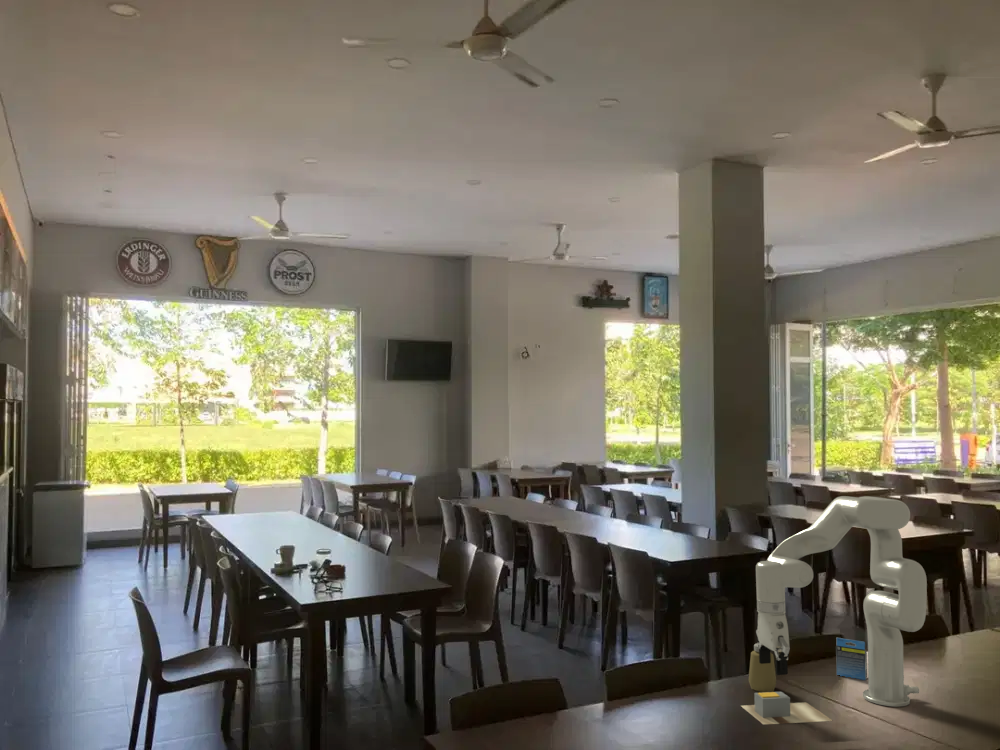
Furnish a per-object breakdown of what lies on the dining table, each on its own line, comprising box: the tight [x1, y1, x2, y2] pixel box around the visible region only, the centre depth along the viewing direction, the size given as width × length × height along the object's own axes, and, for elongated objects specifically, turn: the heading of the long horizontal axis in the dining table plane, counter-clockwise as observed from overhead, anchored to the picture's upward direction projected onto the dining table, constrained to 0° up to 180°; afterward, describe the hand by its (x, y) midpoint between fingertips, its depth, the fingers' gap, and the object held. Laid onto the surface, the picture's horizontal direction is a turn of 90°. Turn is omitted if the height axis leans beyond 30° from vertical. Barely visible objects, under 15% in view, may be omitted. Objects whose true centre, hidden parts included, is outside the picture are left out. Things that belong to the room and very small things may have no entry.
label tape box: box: [835, 637, 868, 681], centre depth 260 cm, size 9×4×12 cm, turn 57°
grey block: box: [753, 691, 791, 718], centre depth 223 cm, size 8×5×5 cm, turn 98°
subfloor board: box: [740, 702, 833, 726], centre depth 224 cm, size 20×14×2 cm
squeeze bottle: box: [748, 642, 777, 693], centre depth 244 cm, size 8×8×18 cm
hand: (773, 668), depth 224 cm, fingers open, 9 cm apart
